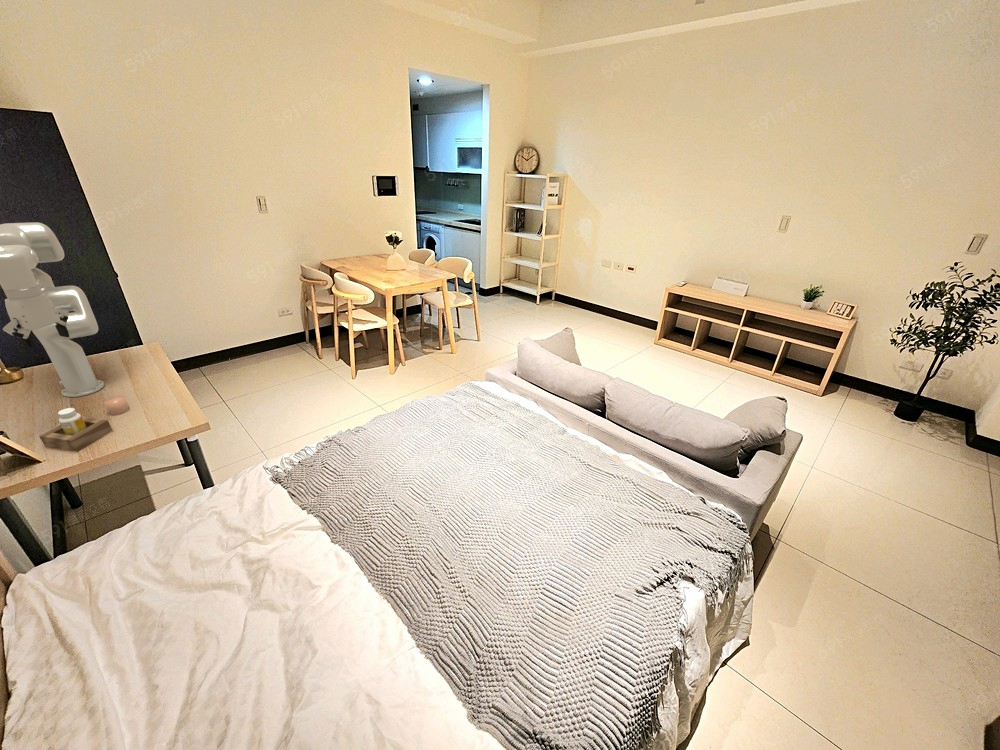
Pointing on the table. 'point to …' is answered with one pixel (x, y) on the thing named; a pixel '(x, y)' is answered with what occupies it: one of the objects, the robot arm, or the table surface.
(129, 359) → the table surface
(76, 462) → the table surface
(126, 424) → the table surface
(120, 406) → the peach rounded lump
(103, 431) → the base block
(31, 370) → the table surface
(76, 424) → the supplement bottle
